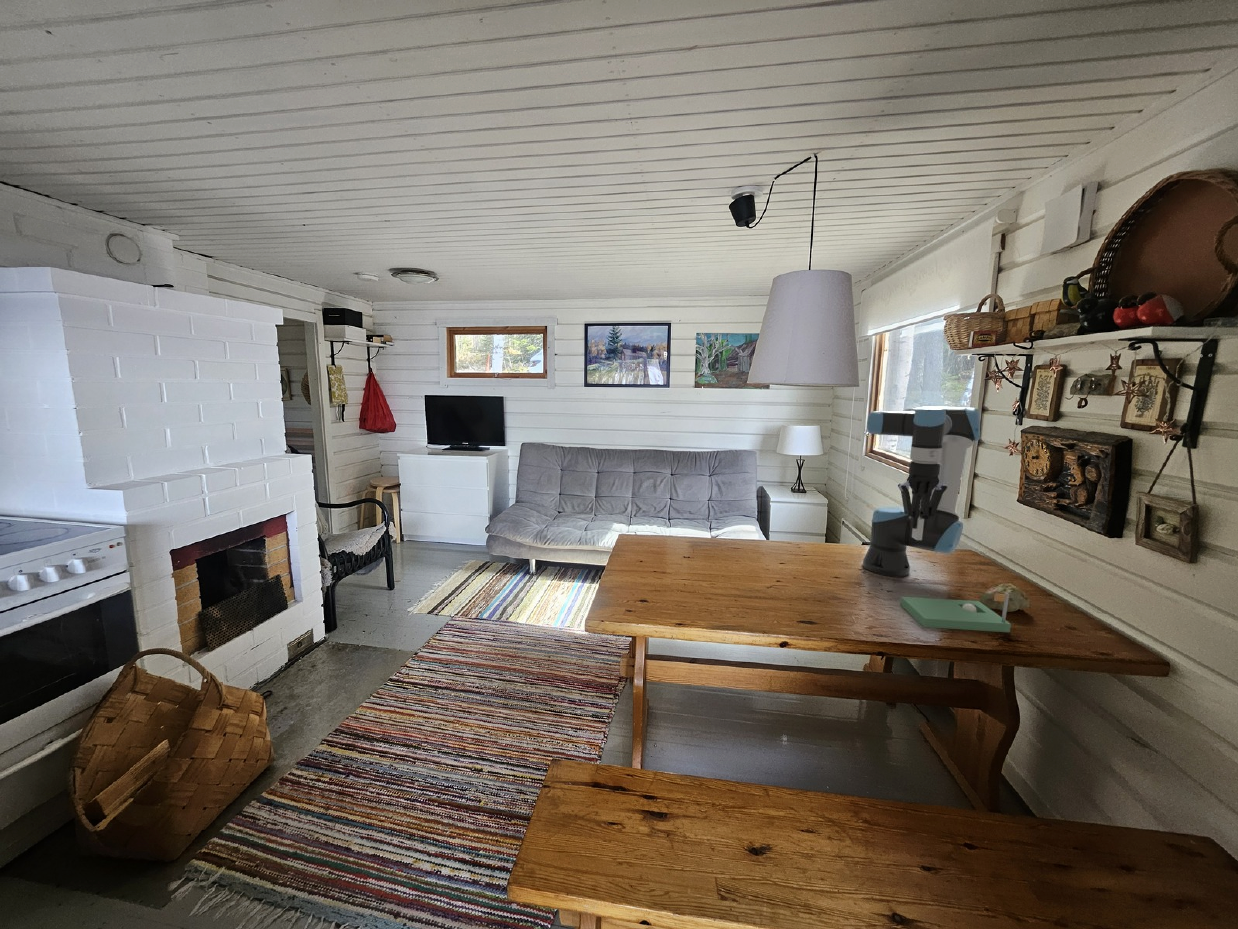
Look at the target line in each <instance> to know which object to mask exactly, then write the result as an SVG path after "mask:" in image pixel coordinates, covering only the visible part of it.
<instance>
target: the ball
mask: <svg viewBox="0 0 1238 929" xmlns="http://www.w3.org/2000/svg"><path fill="white" fill-rule="evenodd" d="M962 608H963V609H965V610H966V611H967V612H977V610H976V607H975V606H974V605H972V604H964V605H963V606H962Z"/></svg>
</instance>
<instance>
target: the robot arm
mask: <svg viewBox="0 0 1238 929" xmlns="http://www.w3.org/2000/svg"><path fill="white" fill-rule="evenodd" d="M980 416H981V414H980V410H979V409H978V408H975V407H968V406H967V407H966V406H962V407H961V406H931V405H930V406H920V407H915V408H914V407H913V408H906V409H904V410H902V411H901V410H899V411H885V410H884V411H883V410H879V411H877V410H876V411H871V412H870V413H869V414H868V417H867V421H866V428H867V432H868V433H869V434H871V435H878V436H881V435H882V436H902V437H911V438H912V439H911V444H910V445H911V446H910V455H909V459H910V462H909V465H908V476H907V477H906V481H904V482H903V483H899V484H898V485H897V487H898V489H899V490H900V492H901V493H900V495H901V499H902V505H903V506H902V507H901V506H900V507H899V506H884V507H878V508H876V509H874V511H873V514H872V519H871V527H870V528H871V529H870V530H871V531H870V540H869V547H868V549H867V551H866V553H865V555H864V556H863V560H862V566H863V568H864V569H866V570H867V571H868V572H871V573H874V574H877V575H881V576H886V577H899V578H901V577H906V576H908V575H909V574H910V571H911V566H910V563H909V559H908V554H907V547H909V548H913V549H920V550H925V551H930V552H934V553H935V554H936V553H938V554H939V553H941V554H946V555H949V554H952V553H954V552H955V550H956V549H957V547H958V544H959V542H960V540H961V537H962V532H963V528H964V523H963V522H962V521H960V516H959V515H958V513H956V507H957V502H958V497H959V490H960V486H961V482H962V476H963V470H964V464H965V460H966V454H967V450H968V449H969V448H972V447H973V445H974V442H976V441H979V440H980V437H981V418H980ZM910 489H911V493H910V491H909V490H910ZM911 495H912V497H911Z"/></svg>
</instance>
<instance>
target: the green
mask: <svg viewBox="0 0 1238 929" xmlns="http://www.w3.org/2000/svg"><path fill="white" fill-rule="evenodd" d="M1008 599H1009V594H1008V593H1005V594H995V596H994V601H1004V606H1003V611H1002V613H1001V614H1002V615H1001V616H1000V615H999V614H998V613H996V612H995V611H994V610H993V609H989V608H988V607H986V606H985V605H983V604H982V603H981V601H980V600H966V599H965V600H964V599H947V598H946V599H945V598H931V597H930V598H928V597H915V596H914V597H912V596H901V597H900V605H901V606H902V607H903V608H904V609H905V610H906V612H908V613H909V615H911V616H912V617H913V618H914V619H915V620H916V621H917V622H918V623H919V624H920V625H921V626H922V627H924V628H935V629H937V628H938V629H948V630H949V629H952V630H953V629H954V630H966V631H967V630H968V631H982V632H997V633H1000V632H1001V633H1010V632H1011V626H1012V623H1010V622H1009V621H1008V620H1006V618H1007V605H1008ZM964 604H972V605H974V606H975V607H976V610H977V612H967V611H966V610H965V609H963V608H962V606H963V605H964Z"/></svg>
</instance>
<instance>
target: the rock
mask: <svg viewBox="0 0 1238 929" xmlns="http://www.w3.org/2000/svg"><path fill="white" fill-rule="evenodd" d="M1005 593H1008V594H1009V599H1008V605H1007V612H1009V613H1013V612H1016V611H1018V610H1020V611H1022V610H1023V608H1027V609H1028V610H1029V609H1031V601H1030V600H1029V596H1027V594H1026V592H1024V590H1021V589H1020V588H1019V587H1018V586H1016V585H1015V584H1013V583H1010V582H1005V583H1001V584H999V585H997V586H994V587H990V588H988V589H987V590H986V591H985V592H981V593H979V594H978V599H979V602H981V603H982V604H983V605H985V606H986V607H988V608H989V609H990V610H993V609H994V610H999V611H1002V612H1003V606H1004V601H994V596H995V594H1005ZM1007 612H1006V613H1007Z"/></svg>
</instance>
